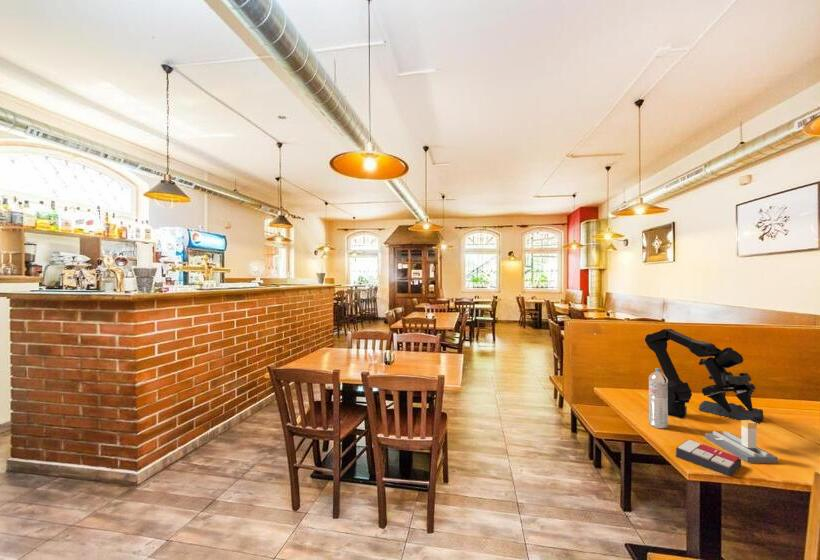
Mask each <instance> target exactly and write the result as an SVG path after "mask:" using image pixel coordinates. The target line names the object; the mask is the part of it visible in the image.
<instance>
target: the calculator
mask: <svg viewBox="0 0 820 560" xmlns="http://www.w3.org/2000/svg"><path fill="white" fill-rule="evenodd" d="M675 457H676V458H678V459H680V460H684V461H685V462H689V463H692V464H695V465H698V466H700V467H703V468H705V469H707V470H710V471H712V472H715V473H718V472H719V474H721V473H722V475H724V476H727V477H732V476H733V475H735V473H736V472H737V471H738V470H739V469H740V468H741V466H742V459H740V458H739V457H737V456H735V455H734V454H732V453H730V452H725V451H724V450H723V451H722V450H720V449H717V448H715V447H712V446H710V445H706V444H701V443H699V442H697V441H694V440H691V439H687V440H685V442H682V444H680V445H678V446H677V447H676V450H675Z"/></svg>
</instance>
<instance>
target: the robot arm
mask: <svg viewBox="0 0 820 560" xmlns="http://www.w3.org/2000/svg"><path fill="white" fill-rule="evenodd" d="M644 341H645V344H646V345H647V347H648V349H650V350H651V351H653V352H654V354H655V355H656V356H655V357H656V358H657V360H658V363H659V365H660V367H661V368H660V369H662V372H663V374H664V375H665V376H666V378H667V379H668V416H671V417H676V418H680V419H684V418H685V417H687V415H688V413H687V412H688V406H687V405H686V404H689V402H690V400H691V398H692V396H693V393H692V392H693V391H692V389H691V388H690V384H689V383H688V382H687V381H686V382H684V381H682V380H681V379H680V376H679V374H678V371H677V370H676V367H675V366H674V363H673V361H672V359H671V357H670V355H669V352H668V350H667V349H668V346H669V345H668V344H669V343H668V341H672V342H675V343H676V344H678V345H681V346H683V347H685V348H686V349H688V350H689V351H690V353H691V354H693V355H695V357H698V358H700V360H699V362H698V365H699V366H704V367H705V368H706V370H707V372H708V373H709V375H710V376H708V378H709V380H712V381H713V382H714V384H711V385H707V386H705V387H703V388H702V389H701V392H702V394H703V396H705V397H706V396H707V398H710V400H713V402H714V403H718V404H719V405H720V406H722V407H723V408H724V409H725V410H727V411H728V412H729V413H731V412H732V410H731V408H730V406H729V402H728V400H727V398H726V394H727V392H734V393H735V396H736V397H737V398H736V399H738V400H739V401H740V402H741V403H742V404H743V407H744V408H745V409H746V410H749V411H753V408H754V407H753V403H752V394H753V393H755V391H756V390H757V388H756V387H755V385H754V384H753V383H751V381H752V378H751V376H750V374H748V372H740V373H739V375H738V374H737V375H734V374H733V373H732V372H731V371H728V370H727V369H730V368H733V367H735V366H738V365H740V364H743V362H744V357H743V356H742V354H740V353H739V352H738V351H737V350H734V349H733V348H732V347H725V348H723V349H720V348H718V347H716V346H717V345H716V344H714V343H712V342H708V341H703V340H697V339H695V338H691V337H690V336H687V335H685V334H683V333H681V332H679V331H676V330H675V329H672V328H663V329H660V330H658V331H656V332H653V333H649V334H647V335H645V338H644Z"/></svg>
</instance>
